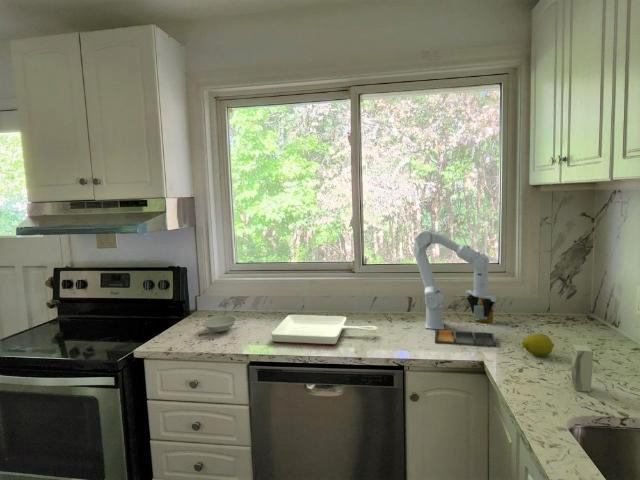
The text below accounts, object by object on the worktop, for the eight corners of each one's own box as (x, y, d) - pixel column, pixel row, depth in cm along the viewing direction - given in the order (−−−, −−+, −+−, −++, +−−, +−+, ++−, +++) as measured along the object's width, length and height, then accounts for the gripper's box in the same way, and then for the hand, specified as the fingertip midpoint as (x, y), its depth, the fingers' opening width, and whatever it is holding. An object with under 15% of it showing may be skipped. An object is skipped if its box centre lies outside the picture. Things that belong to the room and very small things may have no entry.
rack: (435, 334, 179) (435, 329, 179) (493, 338, 173) (493, 333, 173) (434, 342, 170) (434, 337, 170) (496, 346, 164) (496, 341, 163)
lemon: (551, 352, 156) (552, 331, 155) (557, 360, 149) (557, 339, 148) (519, 350, 159) (520, 330, 158) (523, 358, 152) (524, 337, 151)
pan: (288, 324, 202) (288, 314, 201) (380, 327, 193) (380, 317, 192) (269, 345, 174) (269, 334, 174) (375, 350, 165) (375, 338, 165)
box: (570, 383, 131) (571, 343, 130) (586, 385, 130) (588, 345, 129) (575, 391, 126) (576, 350, 125) (592, 392, 125) (593, 351, 124)
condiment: (497, 322, 193) (497, 297, 192) (483, 325, 189) (484, 299, 188) (484, 318, 200) (484, 294, 198) (471, 321, 196) (471, 296, 195)
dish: (225, 339, 182) (224, 328, 181) (196, 336, 186) (195, 325, 186) (244, 326, 199) (243, 316, 198) (217, 324, 203) (216, 314, 202)
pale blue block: (473, 316, 181) (474, 305, 181) (486, 317, 180) (486, 305, 180) (474, 318, 179) (474, 307, 178) (487, 319, 177) (487, 307, 177)
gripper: (460, 281, 182) (460, 312, 184) (488, 287, 169) (488, 320, 171) (472, 279, 185) (471, 309, 187) (500, 285, 173) (499, 317, 174)
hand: (480, 314), depth 179 cm, fingers closed on pale blue block, 6 cm apart
